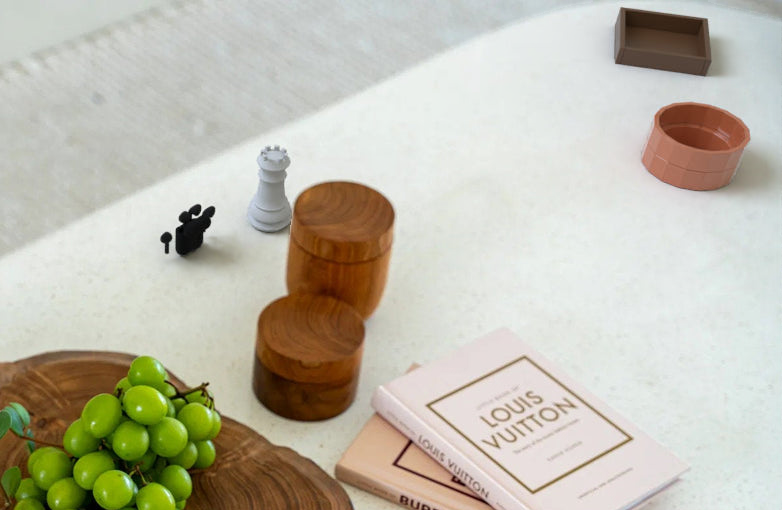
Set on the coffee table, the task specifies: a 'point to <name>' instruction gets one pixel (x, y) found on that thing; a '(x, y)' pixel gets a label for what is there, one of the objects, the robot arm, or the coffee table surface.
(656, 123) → the bowl
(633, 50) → the tray
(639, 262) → the coffee table surface
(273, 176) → the rook chess piece
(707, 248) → the coffee table surface
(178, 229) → the wireless earbuds
